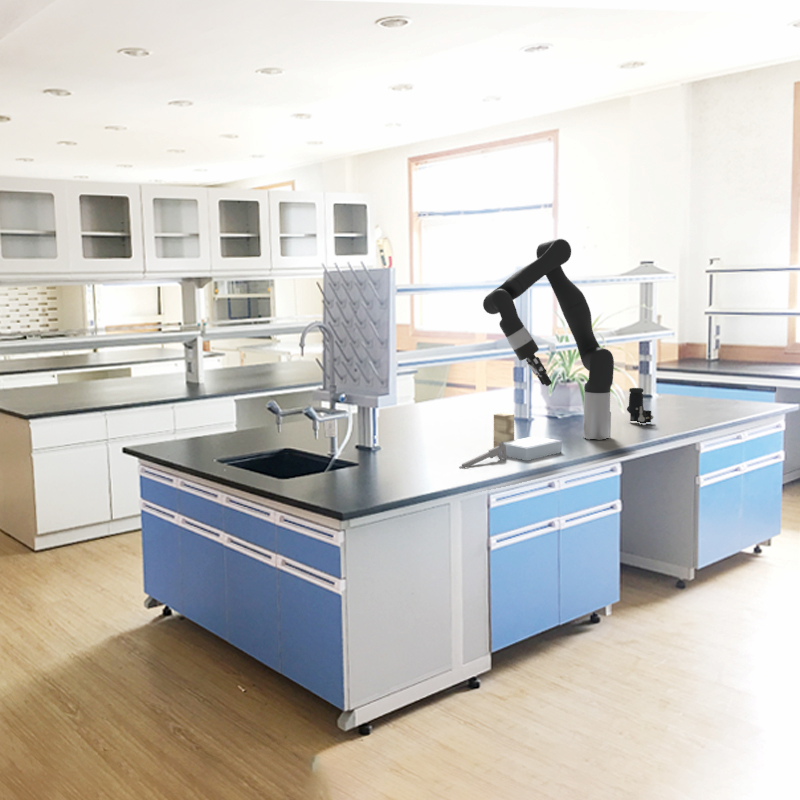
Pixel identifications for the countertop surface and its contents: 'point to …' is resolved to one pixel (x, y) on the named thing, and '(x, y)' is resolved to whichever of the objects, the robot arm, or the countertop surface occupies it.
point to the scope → (638, 407)
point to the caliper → (488, 455)
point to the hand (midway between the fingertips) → (547, 384)
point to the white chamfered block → (532, 447)
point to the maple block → (503, 428)
